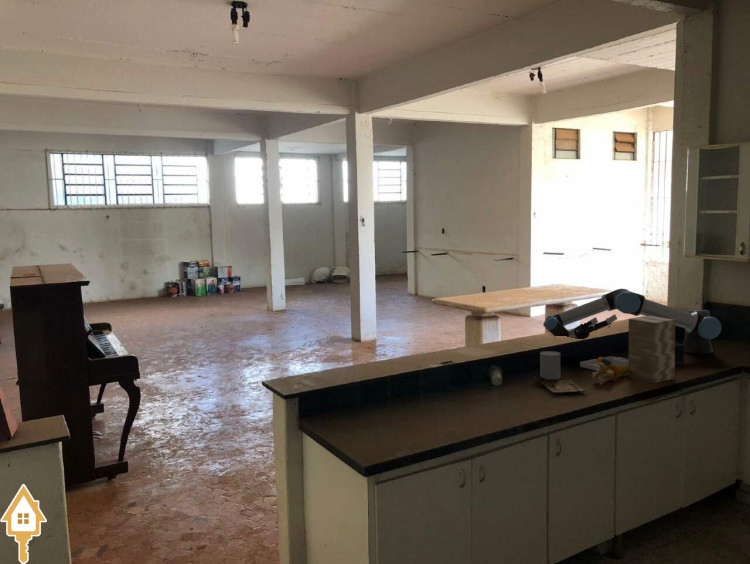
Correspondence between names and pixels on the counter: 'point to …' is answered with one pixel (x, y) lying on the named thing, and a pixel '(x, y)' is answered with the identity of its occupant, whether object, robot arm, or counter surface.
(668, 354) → the stand
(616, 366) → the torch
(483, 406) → the counter surface
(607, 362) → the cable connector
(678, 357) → the small box
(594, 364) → the tray
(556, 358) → the grey cylinder
